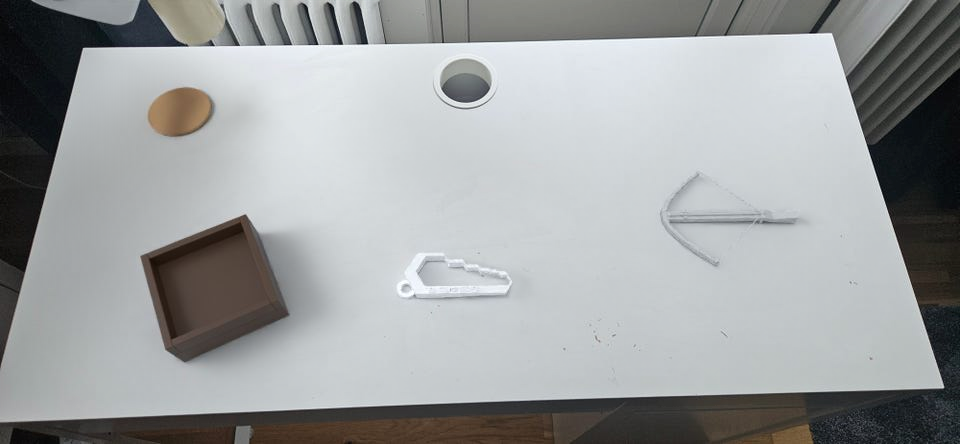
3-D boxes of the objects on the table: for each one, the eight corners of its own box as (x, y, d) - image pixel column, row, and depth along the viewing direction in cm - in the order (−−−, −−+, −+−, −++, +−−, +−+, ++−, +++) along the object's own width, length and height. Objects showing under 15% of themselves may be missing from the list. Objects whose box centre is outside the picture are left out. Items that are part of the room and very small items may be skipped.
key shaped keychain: (510, 257, 69) (511, 251, 68) (512, 297, 67) (513, 291, 65) (398, 259, 69) (397, 252, 67) (396, 299, 66) (395, 293, 65)
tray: (184, 362, 63) (164, 349, 59) (158, 272, 67) (139, 255, 64) (289, 315, 65) (278, 300, 61) (258, 232, 70) (245, 213, 66)
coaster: (156, 144, 76) (155, 143, 76) (143, 101, 79) (141, 99, 79) (218, 122, 78) (217, 121, 78) (202, 81, 81) (201, 79, 81)
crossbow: (667, 268, 70) (671, 261, 68) (652, 178, 76) (656, 169, 74) (806, 266, 69) (814, 259, 67) (780, 176, 75) (786, 166, 73)
